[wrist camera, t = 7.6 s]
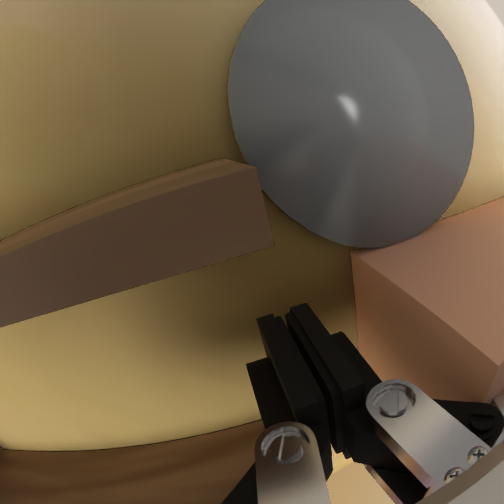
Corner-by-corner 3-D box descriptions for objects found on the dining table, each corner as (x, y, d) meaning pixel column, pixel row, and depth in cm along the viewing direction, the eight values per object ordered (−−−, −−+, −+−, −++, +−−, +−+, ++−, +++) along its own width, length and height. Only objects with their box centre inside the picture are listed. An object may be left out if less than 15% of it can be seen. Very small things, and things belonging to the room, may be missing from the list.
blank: (350, 252, 11) (498, 365, 4) (503, 196, 12) (610, 236, 5) (358, 354, 13) (447, 471, 6) (497, 280, 13) (583, 334, 7)
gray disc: (195, -9, 7) (196, -18, 6) (431, -3, 8) (440, -7, 7) (269, 278, 10) (273, 285, 10) (472, 208, 11) (481, 212, 11)
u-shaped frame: (-105, 303, 7) (-151, 347, 2) (222, 157, 9) (256, 167, 4) (4, 459, 11) (-12, 512, 7) (293, 424, 13) (327, 506, 9)
